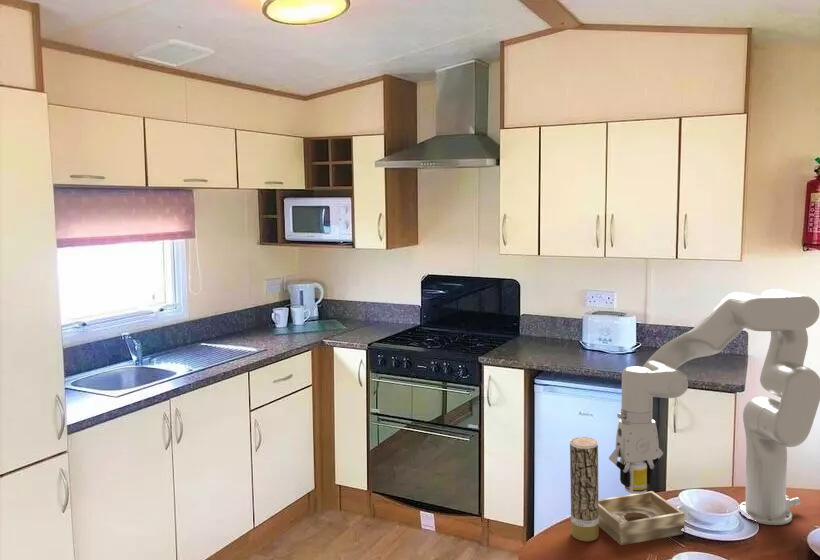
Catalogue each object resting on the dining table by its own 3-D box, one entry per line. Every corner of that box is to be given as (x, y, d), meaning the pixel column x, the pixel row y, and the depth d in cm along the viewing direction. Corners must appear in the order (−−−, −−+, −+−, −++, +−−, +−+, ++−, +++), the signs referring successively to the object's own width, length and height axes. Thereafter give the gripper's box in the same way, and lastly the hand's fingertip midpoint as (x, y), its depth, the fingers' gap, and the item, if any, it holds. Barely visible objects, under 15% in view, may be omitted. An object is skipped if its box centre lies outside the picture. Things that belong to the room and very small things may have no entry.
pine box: (652, 510, 188) (652, 490, 187) (684, 533, 174) (684, 513, 174) (592, 520, 183) (592, 500, 183) (620, 545, 170) (620, 524, 169)
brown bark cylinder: (599, 543, 171) (598, 447, 168) (571, 542, 173) (570, 446, 170) (597, 530, 178) (597, 437, 175) (570, 529, 179) (569, 436, 176)
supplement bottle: (650, 489, 178) (651, 453, 176) (640, 496, 174) (640, 459, 173) (631, 484, 182) (631, 448, 180) (620, 490, 178) (621, 454, 177)
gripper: (614, 423, 170) (613, 494, 172) (675, 416, 174) (673, 485, 176) (598, 414, 177) (598, 482, 179) (657, 408, 181) (656, 474, 183)
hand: (635, 482), depth 177 cm, fingers closed on supplement bottle, 5 cm apart
